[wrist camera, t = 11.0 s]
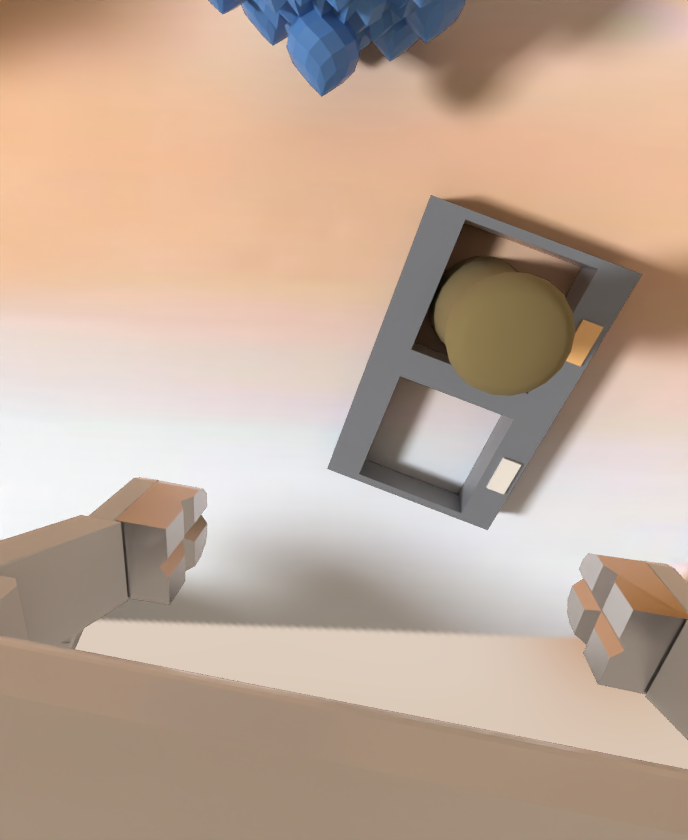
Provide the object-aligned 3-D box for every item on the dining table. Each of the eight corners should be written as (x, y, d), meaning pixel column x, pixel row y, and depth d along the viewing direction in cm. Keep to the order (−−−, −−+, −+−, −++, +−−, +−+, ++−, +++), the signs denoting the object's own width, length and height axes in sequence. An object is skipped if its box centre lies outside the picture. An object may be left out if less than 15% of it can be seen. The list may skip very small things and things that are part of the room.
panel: (482, 510, 32) (488, 531, 30) (333, 453, 32) (326, 470, 30) (622, 271, 25) (643, 274, 23) (429, 199, 25) (431, 194, 23)
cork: (543, 266, 26) (627, 280, 15) (509, 363, 28) (563, 429, 18) (442, 247, 26) (461, 247, 16) (418, 344, 28) (421, 398, 18)
